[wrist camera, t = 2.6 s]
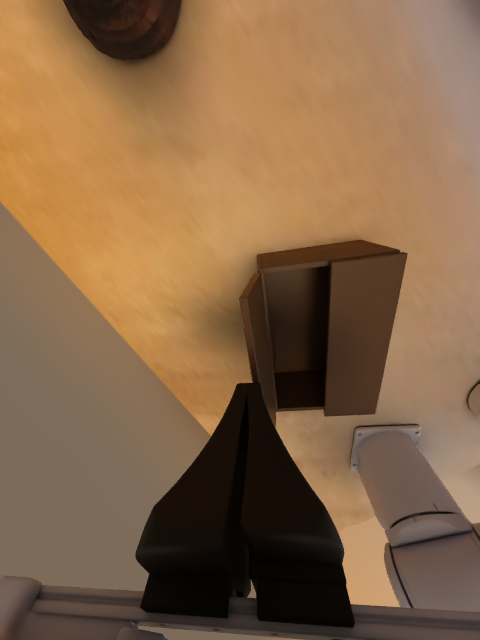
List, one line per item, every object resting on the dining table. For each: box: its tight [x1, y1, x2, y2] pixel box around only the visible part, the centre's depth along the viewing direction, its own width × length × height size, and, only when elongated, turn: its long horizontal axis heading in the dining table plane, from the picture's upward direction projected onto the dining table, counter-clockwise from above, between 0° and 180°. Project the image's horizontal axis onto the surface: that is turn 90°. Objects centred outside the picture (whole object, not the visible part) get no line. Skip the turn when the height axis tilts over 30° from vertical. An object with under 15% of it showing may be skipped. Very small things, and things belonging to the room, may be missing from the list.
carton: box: [257, 240, 407, 416], centre depth 18 cm, size 14×9×6 cm, turn 9°
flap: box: [239, 273, 276, 426], centre depth 15 cm, size 14×4×1 cm
